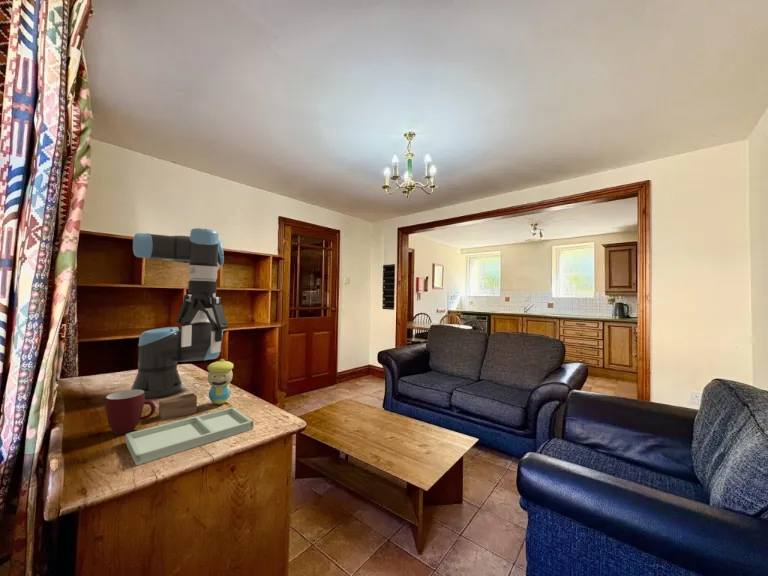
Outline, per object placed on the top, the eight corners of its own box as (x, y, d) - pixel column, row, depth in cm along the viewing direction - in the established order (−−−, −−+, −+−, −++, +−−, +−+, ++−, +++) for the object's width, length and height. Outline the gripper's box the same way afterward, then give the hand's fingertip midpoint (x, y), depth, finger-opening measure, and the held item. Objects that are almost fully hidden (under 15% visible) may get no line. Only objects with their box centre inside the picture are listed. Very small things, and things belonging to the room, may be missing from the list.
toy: (204, 410, 98) (205, 363, 98) (207, 400, 107) (209, 357, 107) (231, 407, 102) (233, 361, 102) (232, 398, 110) (234, 356, 110)
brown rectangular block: (158, 415, 94) (159, 399, 94) (192, 408, 100) (193, 393, 100) (161, 420, 91) (162, 403, 91) (196, 412, 97) (196, 396, 97)
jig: (125, 442, 77) (125, 433, 77) (233, 414, 96) (233, 407, 96) (136, 465, 68) (136, 455, 68) (253, 428, 87) (253, 421, 87)
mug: (153, 420, 90) (154, 386, 90) (155, 430, 84) (157, 393, 84) (104, 429, 83) (106, 392, 83) (103, 441, 77) (105, 401, 77)
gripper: (164, 278, 96) (162, 345, 96) (220, 281, 86) (217, 357, 86) (188, 278, 103) (186, 342, 103) (242, 282, 92) (239, 352, 93)
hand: (200, 349), depth 95 cm, fingers open, 13 cm apart
